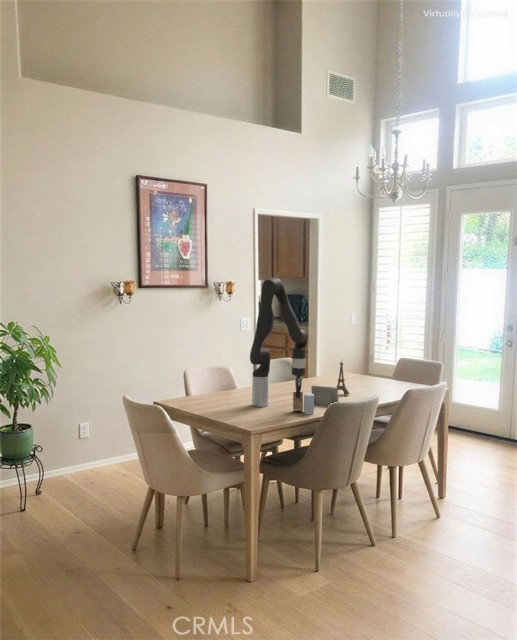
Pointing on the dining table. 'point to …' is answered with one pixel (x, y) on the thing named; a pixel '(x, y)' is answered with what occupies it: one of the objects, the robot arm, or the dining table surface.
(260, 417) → the dining table surface
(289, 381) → the dining table surface
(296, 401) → the walnut block
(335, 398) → the digital clock
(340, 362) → the eiffel tower
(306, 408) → the slate-blue block
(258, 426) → the dining table surface
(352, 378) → the dining table surface
